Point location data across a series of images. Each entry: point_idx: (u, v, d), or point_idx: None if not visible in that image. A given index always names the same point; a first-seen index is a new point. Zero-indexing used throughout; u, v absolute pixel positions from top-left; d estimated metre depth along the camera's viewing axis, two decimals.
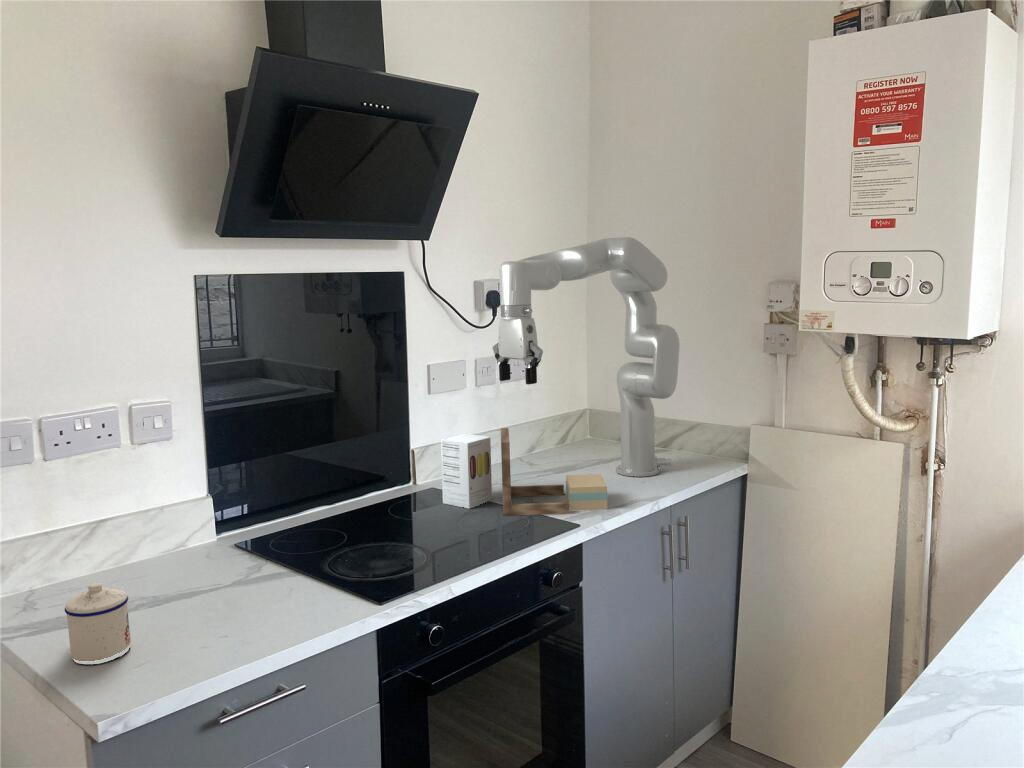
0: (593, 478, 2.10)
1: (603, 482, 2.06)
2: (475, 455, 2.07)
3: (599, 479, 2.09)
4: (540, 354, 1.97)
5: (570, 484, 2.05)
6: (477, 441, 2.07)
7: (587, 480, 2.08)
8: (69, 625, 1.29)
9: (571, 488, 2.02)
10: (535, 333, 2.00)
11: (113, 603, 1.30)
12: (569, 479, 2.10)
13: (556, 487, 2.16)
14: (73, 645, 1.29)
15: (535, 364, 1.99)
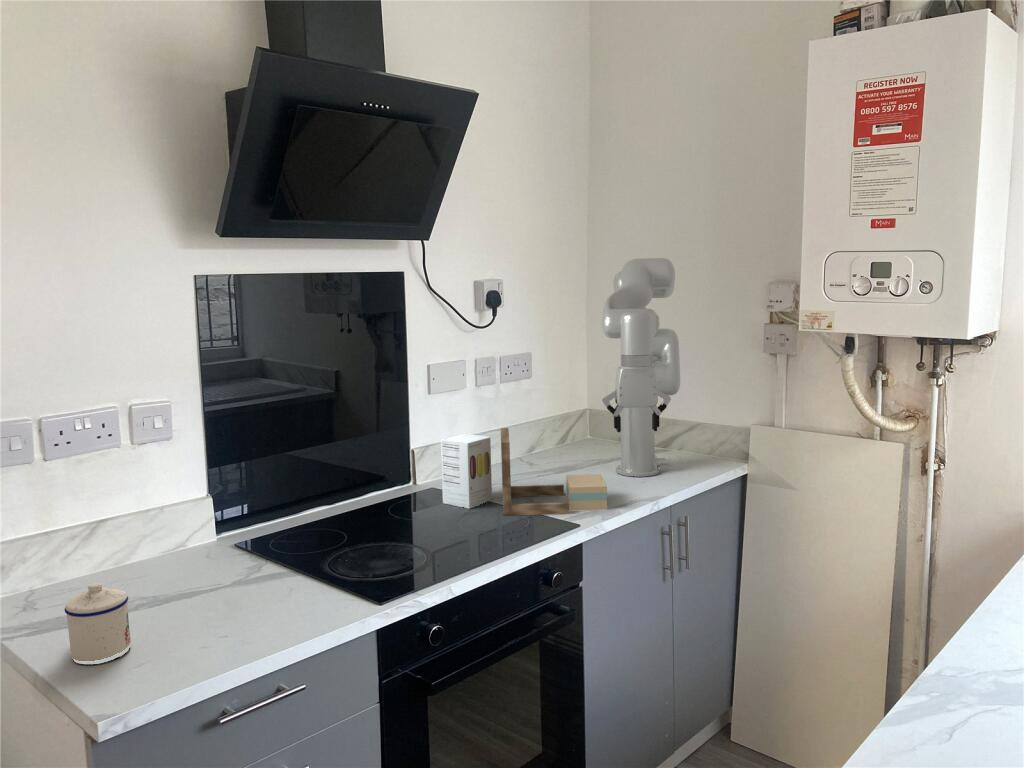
0: (593, 478, 2.10)
1: (603, 482, 2.06)
2: (475, 455, 2.07)
3: (599, 479, 2.09)
4: None
5: (570, 484, 2.05)
6: (477, 441, 2.07)
7: (587, 480, 2.08)
8: (69, 625, 1.29)
9: (571, 488, 2.02)
10: None
11: (113, 603, 1.30)
12: (569, 479, 2.10)
13: (556, 487, 2.16)
14: (73, 645, 1.29)
15: None
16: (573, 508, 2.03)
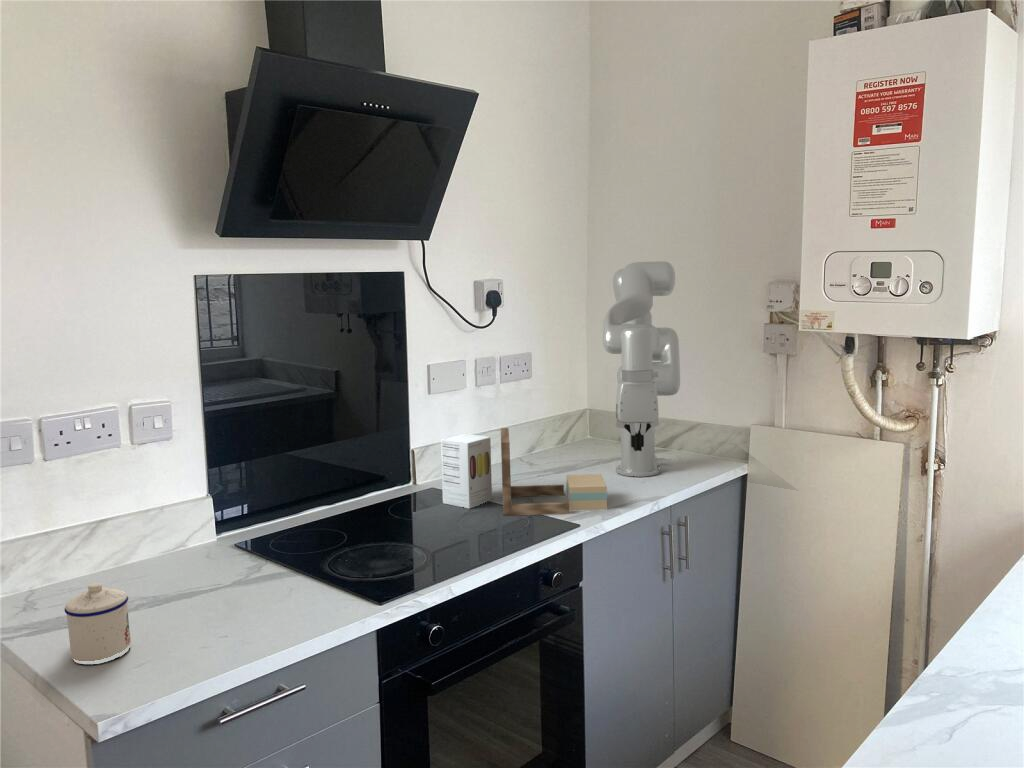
0: (593, 478, 2.10)
1: (603, 482, 2.06)
2: (475, 455, 2.07)
3: (599, 479, 2.09)
4: None
5: (570, 484, 2.05)
6: (477, 441, 2.07)
7: (587, 480, 2.08)
8: (69, 625, 1.29)
9: (571, 488, 2.02)
10: None
11: (113, 603, 1.30)
12: (569, 479, 2.10)
13: (556, 487, 2.16)
14: (73, 645, 1.29)
15: None
16: (573, 508, 2.03)
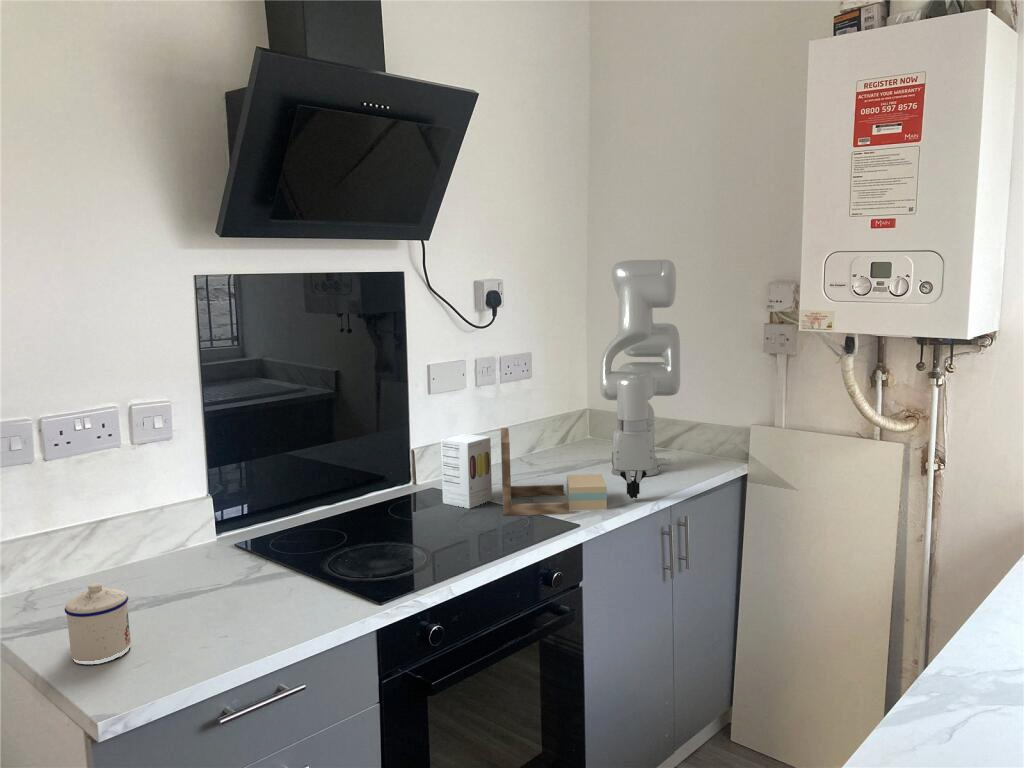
0: (593, 478, 2.10)
1: (603, 482, 2.06)
2: (475, 455, 2.07)
3: (599, 479, 2.09)
4: None
5: (570, 484, 2.05)
6: (477, 441, 2.07)
7: (587, 480, 2.08)
8: (69, 625, 1.29)
9: (570, 488, 2.03)
10: None
11: (113, 603, 1.30)
12: (569, 479, 2.10)
13: (556, 487, 2.16)
14: (73, 645, 1.29)
15: None
16: (572, 508, 2.03)
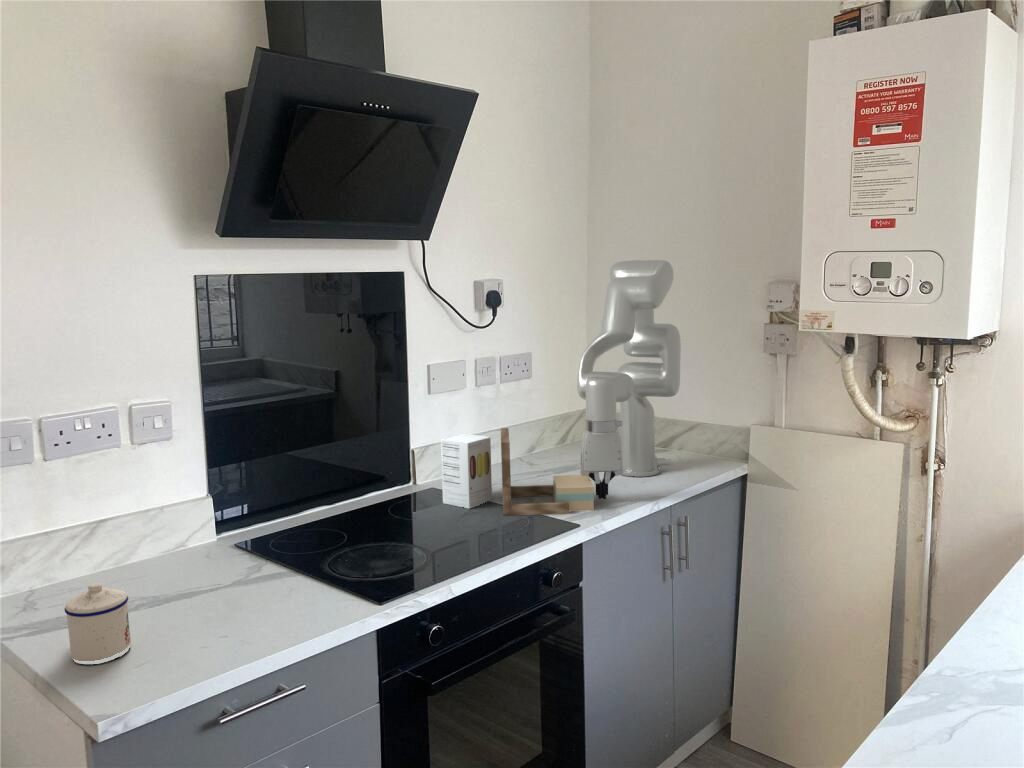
0: (580, 479, 2.10)
1: (590, 483, 2.06)
2: (475, 455, 2.07)
3: (586, 480, 2.08)
4: None
5: (557, 485, 2.05)
6: (477, 441, 2.07)
7: (574, 481, 2.08)
8: (69, 625, 1.29)
9: (557, 489, 2.02)
10: None
11: (113, 603, 1.30)
12: (556, 480, 2.10)
13: None
14: (73, 645, 1.29)
15: None
16: None
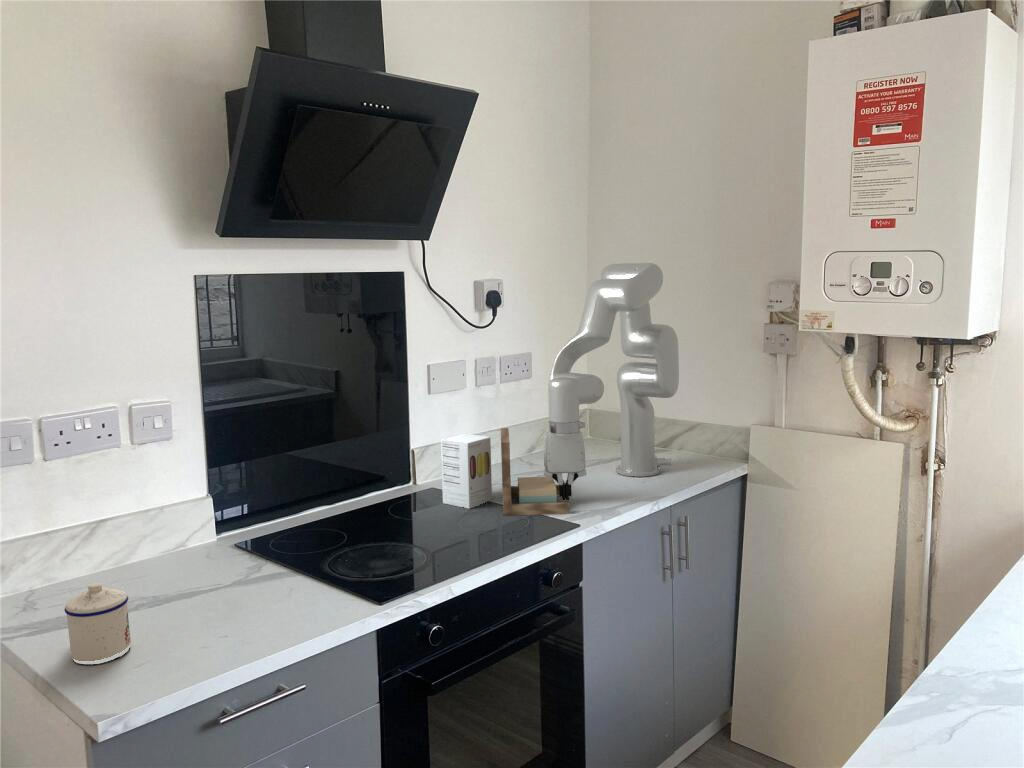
0: (544, 481, 2.09)
1: (553, 485, 2.05)
2: (475, 455, 2.07)
3: (549, 482, 2.08)
4: None
5: (520, 487, 2.04)
6: (477, 441, 2.07)
7: (537, 483, 2.08)
8: (69, 625, 1.29)
9: (520, 491, 2.02)
10: None
11: (113, 603, 1.30)
12: (520, 482, 2.09)
13: (556, 487, 2.16)
14: (73, 645, 1.29)
15: None
16: None
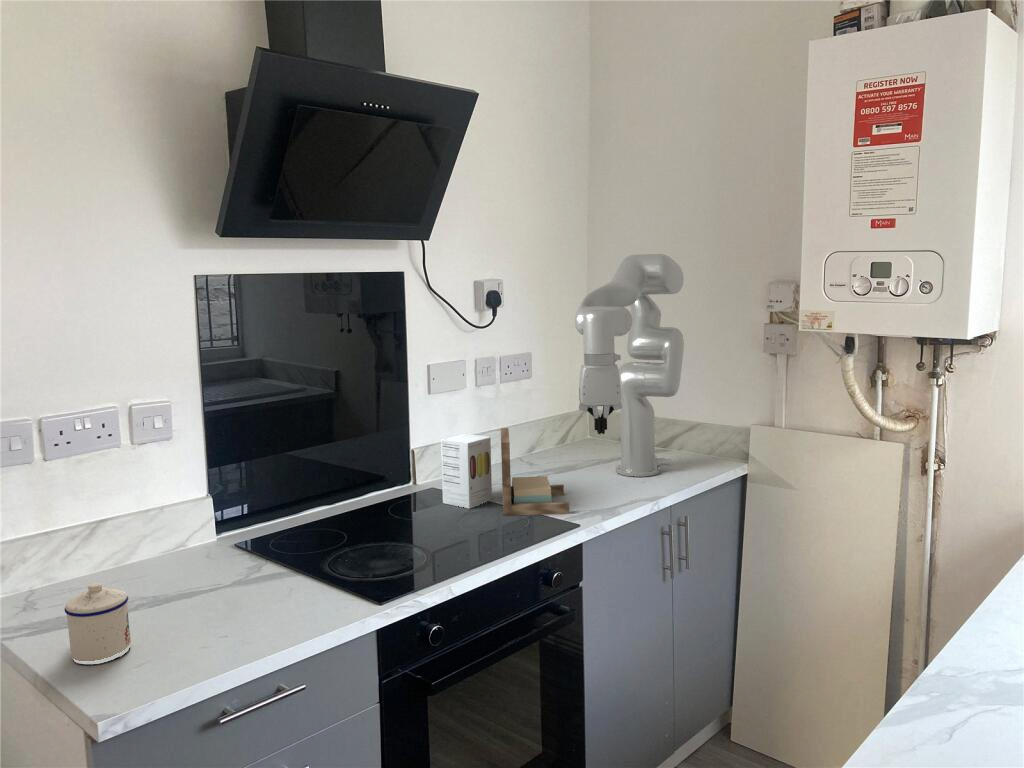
0: (538, 480, 2.09)
1: (548, 484, 2.05)
2: (475, 455, 2.07)
3: (544, 482, 2.08)
4: None
5: (514, 486, 2.04)
6: (477, 441, 2.07)
7: (532, 482, 2.08)
8: (69, 625, 1.29)
9: (515, 490, 2.02)
10: None
11: (113, 603, 1.30)
12: (514, 481, 2.09)
13: (556, 487, 2.16)
14: (73, 645, 1.29)
15: None
16: None
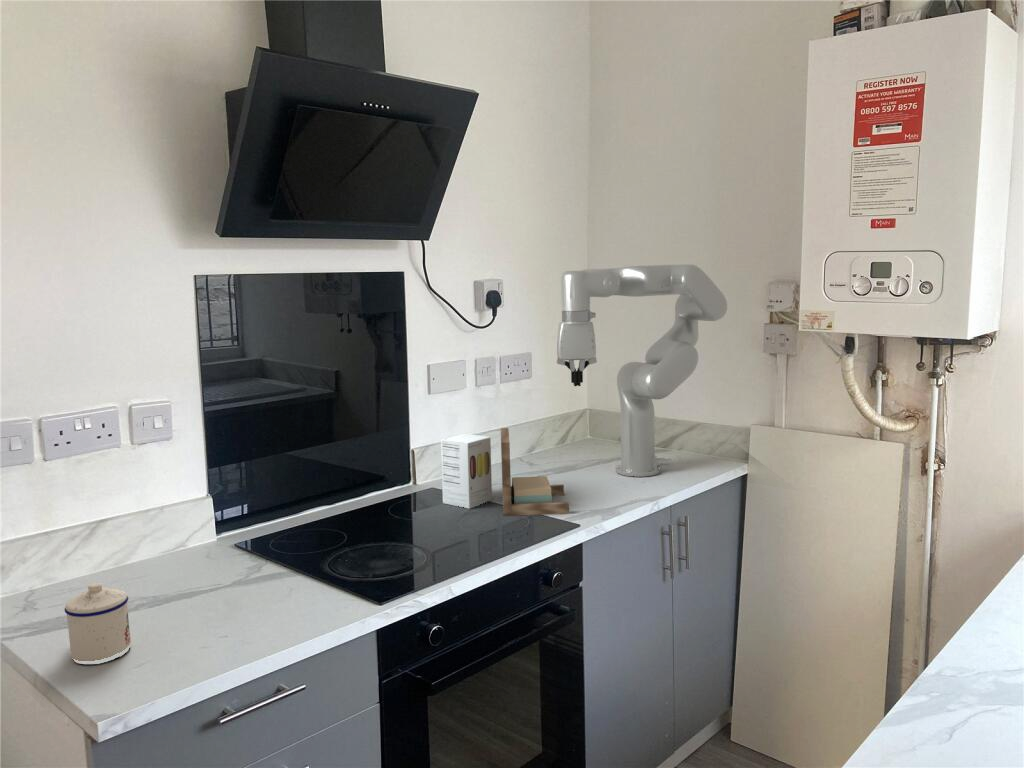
0: (538, 480, 2.09)
1: (548, 484, 2.05)
2: (475, 455, 2.07)
3: (544, 481, 2.08)
4: (593, 363, 2.23)
5: (514, 486, 2.04)
6: (477, 441, 2.07)
7: (532, 482, 2.08)
8: (69, 625, 1.29)
9: (515, 490, 2.02)
10: None
11: (113, 603, 1.30)
12: (514, 481, 2.09)
13: (556, 487, 2.16)
14: (73, 645, 1.29)
15: None
16: None
